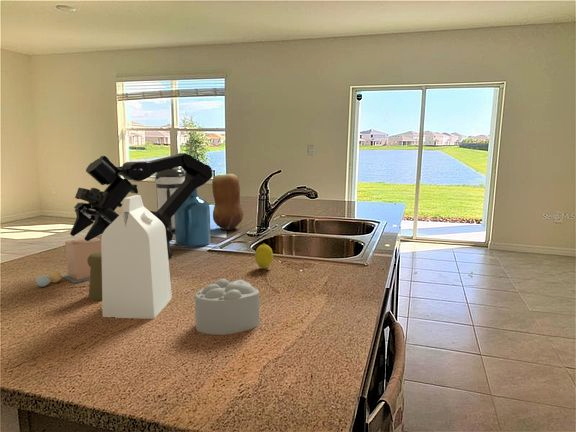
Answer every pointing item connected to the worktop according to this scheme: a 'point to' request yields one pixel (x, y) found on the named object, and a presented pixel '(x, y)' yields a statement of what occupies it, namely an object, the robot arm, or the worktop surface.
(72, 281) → the coaster
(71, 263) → the pink rectangular block
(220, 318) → the lumpy-topped squat cylinder
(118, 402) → the worktop surface
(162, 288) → the milk
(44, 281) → the marble
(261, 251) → the lemon
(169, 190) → the coffee press
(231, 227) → the butternut squash
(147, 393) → the worktop surface
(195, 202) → the wine bottle
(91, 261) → the cork
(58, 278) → the marble
